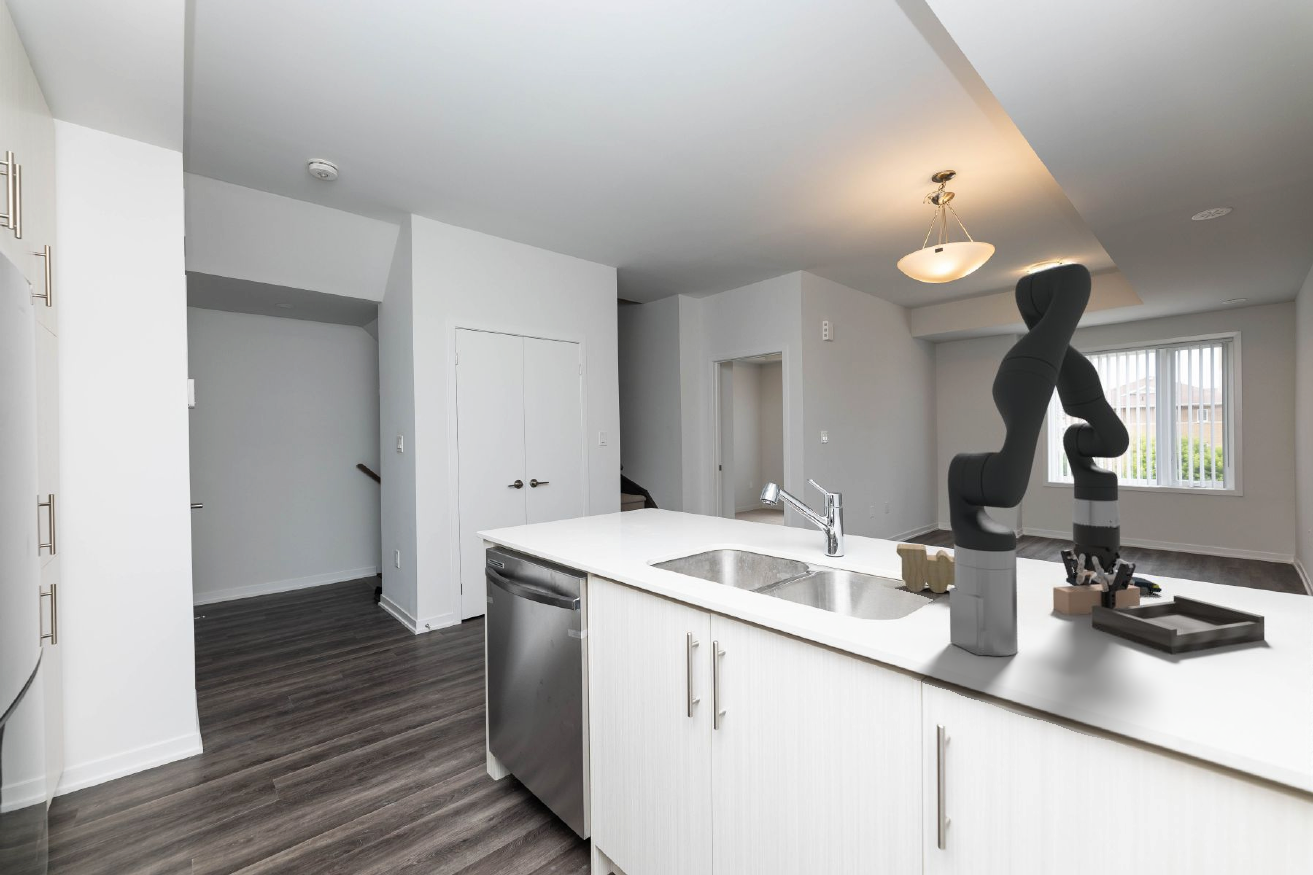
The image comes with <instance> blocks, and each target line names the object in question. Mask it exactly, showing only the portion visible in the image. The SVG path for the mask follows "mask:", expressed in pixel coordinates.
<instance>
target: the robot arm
mask: <svg viewBox="0 0 1313 875" xmlns="http://www.w3.org/2000/svg"><path fill="white" fill-rule="evenodd" d="M1091 277H1092V276H1091V274H1090V270H1088V268H1087V267H1086V266H1085V265H1084V264H1082V263H1079V262H1066V263H1063V264H1058V265H1055V266H1052V267H1047V268H1044V269H1041V270H1038V271H1035V272H1032V273H1028V274H1026V275H1023V276H1022V277H1020V278H1019V279H1018V281H1017V283H1016V286H1015V290H1014V297H1015V303H1016V306H1017V309H1018V312H1019V314H1020V316H1021V318H1022V320H1023V322H1024V323H1025V326H1026V328H1027V329H1028V332H1027V333H1026V334H1025V335H1024V336H1023V337H1021V339H1019V341H1017V342H1016V343H1015V344H1014V345H1013V346H1012V347H1011V348H1010V349H1009V350H1008V351H1007V352H1006V354H1005V355H1004V357H1003V358H1002V360H1001V363H1000V365H999V366H998V370H997V372H996V375H995V377H994V381H993V384H992V389H991V392H992V398H993V400H994V401H993V402H994V404H995V407H996V408H997V411H998V413H999V415H1000V416H1001V419H1002V420H1003V423H1004V426H1005V429H1006V434H1005V439H1004V442H1003V445H1002V448H1001V450H999V451H998V452H997V451H995V452H993V451H964V452H962V451H961V452H959V453H956V454H955V456H953V458H952V459H951V461H950V463H949V466H948V467H949V468H948V471H947V472H948V473H947V493H948V507H949V522H950V528H951V531H952V534H953V543H954V544H953V551H954V552H953V557H954V579H955V586H954V587H952V588H950V589H949V625H950V626H949V628H950V629H949V630H950V632H949V633H950V634H949V635H950V636H949V637H950V643H951V644H954V645H955V646H958V647H959V648H962V649H964V650H965V651H968V652H970V653H973V655H977V656H991V657H992V656H993V657H994V656H997V657H1006V656H1008V657H1009V656H1012V655H1015V654H1016V653H1018V651H1019V650H1018V648H1019V646H1018V645H1019V642H1018V591H1017V589H1018V586H1017V585H1018V583H1017V580H1018V579H1017V578H1018V577H1017V570H1018V569H1017V535H1016V533H1015V531H1014V530H1013V529H1011V528H1009V527H1008V526H1005V525H1004V524H1002V523H999V522H998V521H997V520H994V519H993V518H992V517H991V516H990V515H989V514H988V513H987V512H986V509H985V507H986V508H998V509H999V508H1000V509H1012V508H1015V507H1016V506H1018V505H1019V504H1020V503H1021V501H1022V500H1023V499H1024V496H1025V494H1026V492H1027V489H1028V485H1029V482H1030V478H1031V474H1032V468H1033V463H1034V459H1035V455H1036V454H1035V453H1036V448H1037V445H1038V441H1039V440H1038V439H1039V436H1040V433H1041V428H1042V426H1043V424H1044V423H1043V422H1044V419H1045V417H1046V416H1045V415H1046V413H1047V410H1048V408H1049V404H1050V402H1051V399H1052V397H1053V394H1054V391H1055V389H1056V391H1057V394H1058V398H1059V400H1060V403H1061V407H1062V410H1063V411H1064V413H1065V414H1066V415H1067V416H1068V417H1072V418H1075V419H1076V418H1077V419H1080V420H1083V421H1086V422H1077V423H1073V424H1071V425H1070V426H1068V427H1067V428H1066V430H1065V432H1063V436H1062V437H1063V438H1062V444H1063V446H1062V447H1063V449H1064V453H1065V456H1066V458H1067V461H1068V464H1069V467H1070V470H1071V474H1072V478H1073V498H1074V499H1073V504H1072V541H1073V543H1074V544H1075V545H1074V547H1073V549H1066V550H1064V549H1062V550H1061V551H1060V556H1061V558H1062V562H1063V566H1064V569H1065V572H1066V574H1067V578H1069V579H1073V580H1075V581H1076V583H1077V584H1078V586H1082V585H1089V583H1091V579H1092V575H1093V574H1094V573H1095V572H1096V573H1097V577H1098V579H1099V580H1100V581H1101V585H1102V589H1103V590H1104V591H1102V607H1104V608H1108V609H1114V608H1115V606H1116V591H1119V590H1127V588H1128V585H1129V583H1130V580H1131V578H1132V577H1133V575H1134V572H1135V570H1136V567H1137V565H1136V564H1135V563H1134V562H1128V561H1126V560H1124V559H1122V558H1121V555H1120V553H1119V548H1120V546H1121V515H1120V514H1121V513H1120V504H1119V482H1118V481H1119V480H1118V479H1119V478H1118V475H1117V474H1116V472H1114V471H1113V470H1112V471H1111V470H1108V469H1104V468H1101V467H1099V466H1098V465H1097V464H1096V462H1095V459H1094V458H1101V459H1103V458H1104V459H1114V458H1120V457H1121V456H1123V455H1124V454H1125V453H1126V452H1127V451H1128V448H1129V446H1130V436H1129V432H1128V429H1127V428H1126V426H1125V424H1124V423H1123V421H1122V420H1121V419H1120V417H1119V416H1118V414H1117V413H1116V411H1115V410H1114V409H1113V407H1112V406H1111V405H1110V403H1109V402H1108V399H1107V398H1106V395H1105V393H1104V389H1103V386H1102V382H1101V378H1100V376H1099V373H1098V371H1097V369H1096V367H1095V366H1094V365H1093V363H1092V362H1091V361H1090V359H1088V358H1087V357H1086V356H1085V355H1084V354H1083V353H1082V352H1080V351H1079V350H1078V349H1076V348H1075V347H1074V346H1073V345H1071V344H1070V343H1071V340H1072V337H1073V335H1074V333H1075V331H1076V329H1077V327H1078V325H1079V323H1080V321H1081V319H1082V316H1083V315H1084V312H1085V311H1086V308H1087V305H1088V303H1089V300H1090V297H1091V293H1092V278H1091ZM1115 567H1116V568H1115ZM1116 572H1117V574H1116ZM1105 573H1108V574H1107V575H1105Z"/></svg>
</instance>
